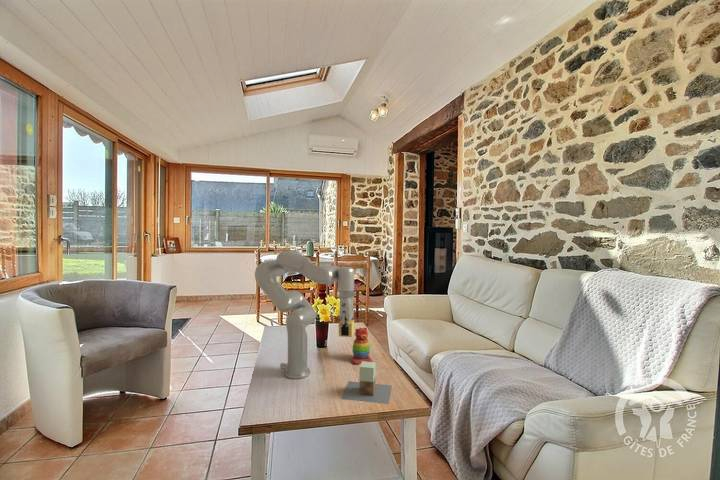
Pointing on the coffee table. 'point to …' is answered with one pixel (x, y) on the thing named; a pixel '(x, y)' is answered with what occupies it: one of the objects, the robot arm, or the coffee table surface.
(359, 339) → the stacking bear
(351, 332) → the ochre block
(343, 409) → the coffee table surface
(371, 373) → the sage-green block
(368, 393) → the walnut base block
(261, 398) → the coffee table surface
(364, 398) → the slate base board
